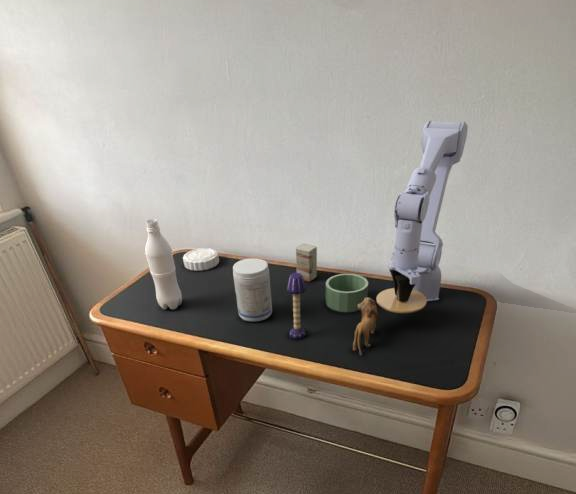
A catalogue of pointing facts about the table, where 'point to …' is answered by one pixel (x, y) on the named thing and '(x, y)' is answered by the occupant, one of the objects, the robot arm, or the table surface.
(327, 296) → the canister
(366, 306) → the lion figurine
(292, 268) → the table surface
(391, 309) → the lid
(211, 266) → the mooncake
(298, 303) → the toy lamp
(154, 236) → the water bottle
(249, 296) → the supplement tub
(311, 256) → the beige rectangular box
